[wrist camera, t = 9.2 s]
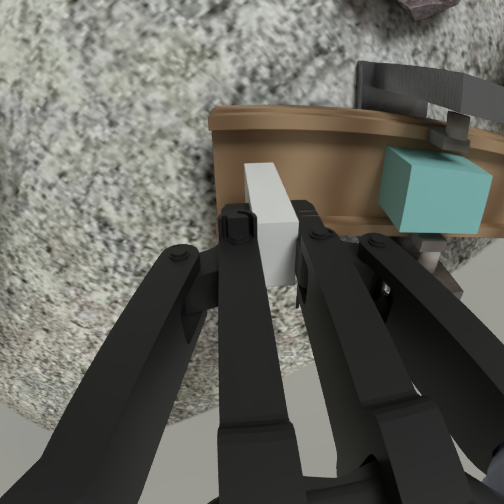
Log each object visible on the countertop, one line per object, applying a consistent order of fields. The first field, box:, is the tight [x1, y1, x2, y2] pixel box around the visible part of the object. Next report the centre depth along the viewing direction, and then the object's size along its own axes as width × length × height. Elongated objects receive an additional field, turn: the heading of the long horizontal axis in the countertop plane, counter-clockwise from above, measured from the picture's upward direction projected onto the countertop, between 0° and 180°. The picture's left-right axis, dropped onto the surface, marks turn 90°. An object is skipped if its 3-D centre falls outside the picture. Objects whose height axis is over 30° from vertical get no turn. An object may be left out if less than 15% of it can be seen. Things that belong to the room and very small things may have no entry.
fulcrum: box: [346, 61, 504, 300], centre depth 20 cm, size 6×15×12 cm, turn 1°
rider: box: [378, 145, 493, 234], centre depth 18 cm, size 6×4×4 cm, turn 91°
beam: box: [208, 105, 504, 274], centre depth 19 cm, size 28×10×6 cm, turn 91°
